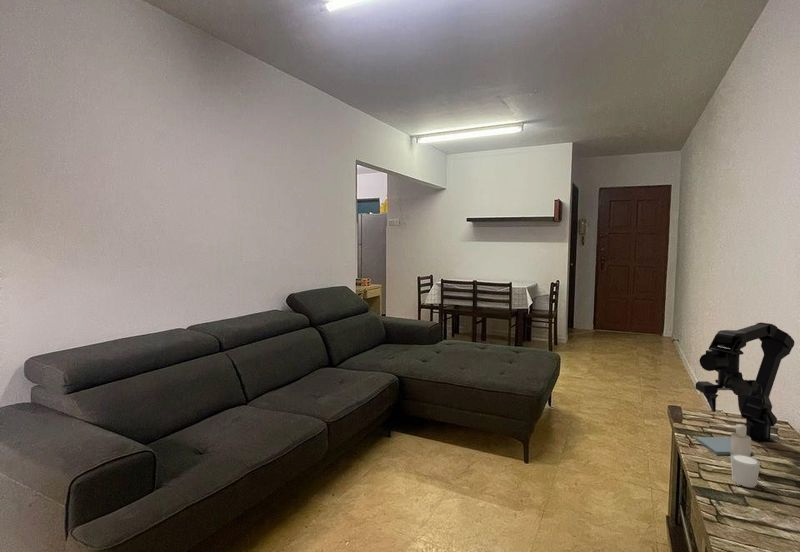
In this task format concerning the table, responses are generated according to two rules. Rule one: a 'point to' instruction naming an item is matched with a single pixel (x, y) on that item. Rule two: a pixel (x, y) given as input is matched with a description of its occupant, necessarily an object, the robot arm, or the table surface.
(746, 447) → the cream bottle
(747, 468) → the shot glass
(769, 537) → the table surface
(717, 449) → the slate board
